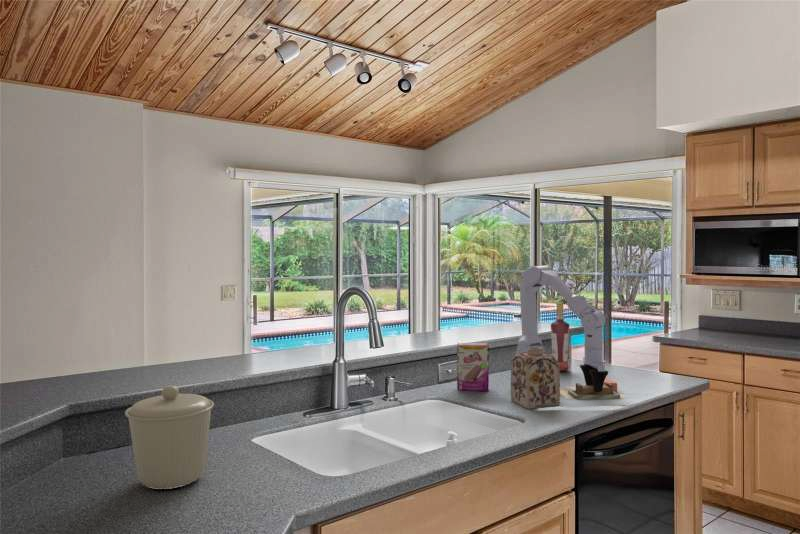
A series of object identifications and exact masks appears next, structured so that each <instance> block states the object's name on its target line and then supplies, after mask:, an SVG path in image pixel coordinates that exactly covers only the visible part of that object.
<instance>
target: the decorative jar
mask: <svg viewBox="0 0 800 534" xmlns="http://www.w3.org/2000/svg"><path fill="white" fill-rule="evenodd" d="M559 367H560V366H559V364H558V362H557V360H556V359H555V357H554V356H553V355H552V353H551V354H550V353H547V352H545V351H544V352H542V348H539V347H532V348H528V350H527V352H522V353H519V354H517V355H516V354H515V356H514V357H513V358H512V360H511V361H510V397H511V398H510V401H511V402H513V403H515V404H517V405H520V406H521V407H523V408H525V409H527V410H533V409H543V408H545V409H546V408H553V407H556V408H557V407H560V405H559V404H560V403H561V394H560V387H561V383H560V381H561V379H560V376H561V375H560V373H561V372H560V368H559ZM547 404H548V405H547ZM550 404H554V405H550ZM555 404H558V405H555Z"/></svg>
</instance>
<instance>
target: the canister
mask: <svg viewBox="0 0 800 534" xmlns="http://www.w3.org/2000/svg"><path fill="white" fill-rule="evenodd" d="M179 392H180V390H179V388H178V387H177V386H176V385H166V386H165V387H163V388H162V389H161V395H157V396H153V397H148V398H144V399H141V400H139V401H137V402H135V403H134V404H132V406H130V407H128V408H127V409H126V410H125V411H124V414H125V415H124V416H125V417H127V418H128V422H129V431H130V436H131V444H132V451H133V455H134V458H133V459H134V463H135V467H136V473H137V478H138V480H139V482H140V484H141V485H142V486H144V485H145V486H147V487H153V488H167V487H175V486H180V485H185V484H188V483H190V482H193V481H195V480H197V479H198V478H199V479H200V478H201V477H202V476H203V474H204V471H205V468H206V463H207V457H208V448H209V446H208V445H209V435H210V424H211V415H212V414H211V413H212V409H213V408H214V406H215V403H214V401H213V400H212V399H209V398H207V397H206V396H204V395H200V394H196V393H179ZM199 479H198V480H199ZM198 480H197V481H198ZM145 486H144V487H145Z"/></svg>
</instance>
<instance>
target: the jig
mask: <svg viewBox="0 0 800 534" xmlns="http://www.w3.org/2000/svg"><path fill="white" fill-rule="evenodd" d="M561 395H562V397H564V398H565V399H566V400H590V399H591V400H599V399H601V400H602V399H629V397H628V396H626V395H624V394H623V393H622V392H620V391H618V390H617V392H614V391H613V394H605V395H577V394H576V386H560V396H561Z"/></svg>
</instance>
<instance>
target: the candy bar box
mask: <svg viewBox="0 0 800 534" xmlns="http://www.w3.org/2000/svg"><path fill="white" fill-rule="evenodd" d="M456 347H457V350H456V351H457V352H456V353H457V354H456V356H457V357H456V359H457V360H456V365H457V366H456V371H457V372H456V374H457V375H456V377H457V378H456V381H457V382H456V385H457V387H456V389H457V391H463V392H464V391H465V392H466V391H467V392H489V383H490V382H489V376H490V375H489V369H490V368H489V365H490V364H489V363H490V362H489V361H490V359H489V355H490V354H489V353H490V351H489V350H490V349H489V348H490V347H489V343H487V342H486V343H483V342H482V343H478V342H477V343H474V342H457V346H456Z"/></svg>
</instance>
